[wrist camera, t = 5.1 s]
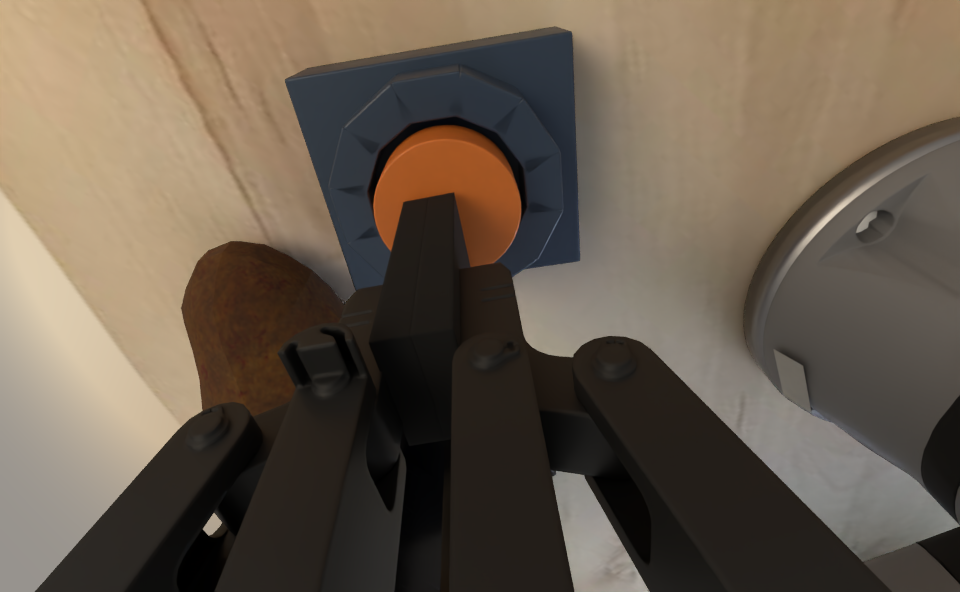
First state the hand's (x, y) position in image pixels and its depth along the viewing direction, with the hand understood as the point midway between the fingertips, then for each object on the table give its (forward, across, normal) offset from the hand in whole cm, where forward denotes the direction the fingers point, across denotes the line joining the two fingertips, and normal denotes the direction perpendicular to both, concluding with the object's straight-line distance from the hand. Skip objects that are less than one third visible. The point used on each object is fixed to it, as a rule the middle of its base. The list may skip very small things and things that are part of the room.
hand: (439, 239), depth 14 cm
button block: (+6, 0, -1) cm, 6 cm away
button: (+2, 0, -1) cm, 2 cm away
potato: (+6, +8, +6) cm, 11 cm away
